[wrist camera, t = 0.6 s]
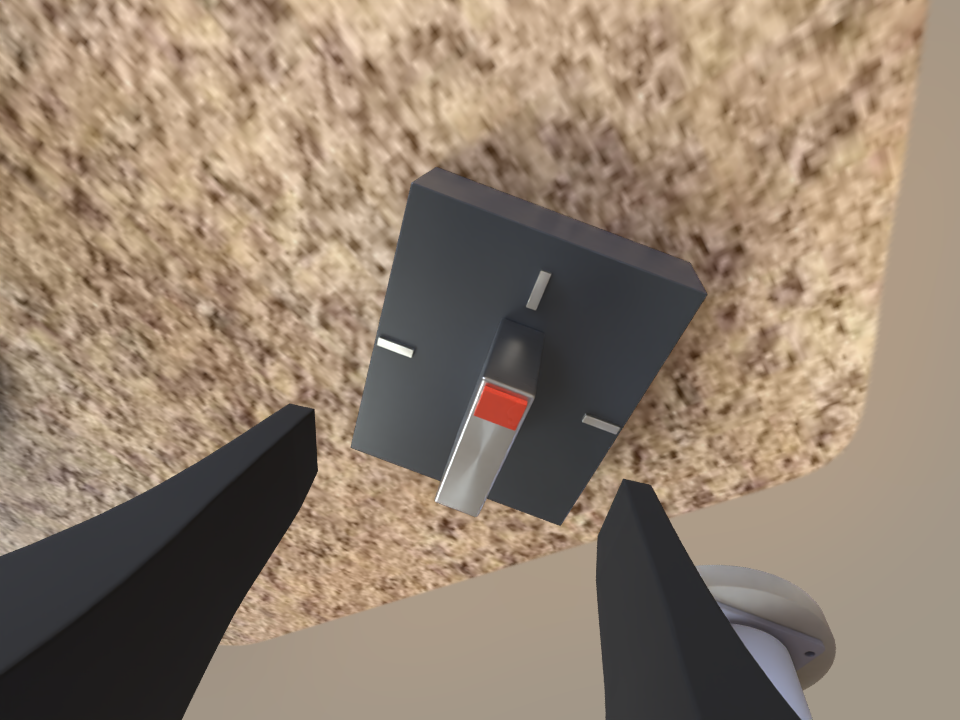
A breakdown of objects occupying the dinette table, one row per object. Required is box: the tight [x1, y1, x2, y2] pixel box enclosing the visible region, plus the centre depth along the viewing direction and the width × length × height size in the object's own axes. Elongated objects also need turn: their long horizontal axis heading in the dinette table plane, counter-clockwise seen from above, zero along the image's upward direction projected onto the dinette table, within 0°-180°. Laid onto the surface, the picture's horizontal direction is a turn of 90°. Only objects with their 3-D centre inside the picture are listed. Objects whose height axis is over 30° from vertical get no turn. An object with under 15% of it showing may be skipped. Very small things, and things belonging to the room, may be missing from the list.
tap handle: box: [435, 319, 544, 517], centre depth 17 cm, size 6×2×4 cm, turn 162°
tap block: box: [351, 167, 707, 526], centre depth 20 cm, size 12×10×3 cm
